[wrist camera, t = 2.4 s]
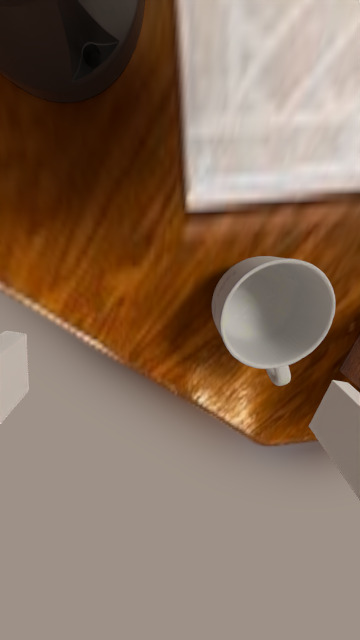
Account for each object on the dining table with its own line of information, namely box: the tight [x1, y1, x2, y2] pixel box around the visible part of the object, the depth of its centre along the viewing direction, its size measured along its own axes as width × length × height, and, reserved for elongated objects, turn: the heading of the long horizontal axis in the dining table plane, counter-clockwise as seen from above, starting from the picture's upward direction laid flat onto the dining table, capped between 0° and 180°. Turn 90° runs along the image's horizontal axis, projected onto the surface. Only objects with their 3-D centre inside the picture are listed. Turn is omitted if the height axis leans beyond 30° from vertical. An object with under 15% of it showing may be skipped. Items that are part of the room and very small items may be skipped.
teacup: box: [212, 256, 335, 386], centre depth 26 cm, size 14×11×8 cm
